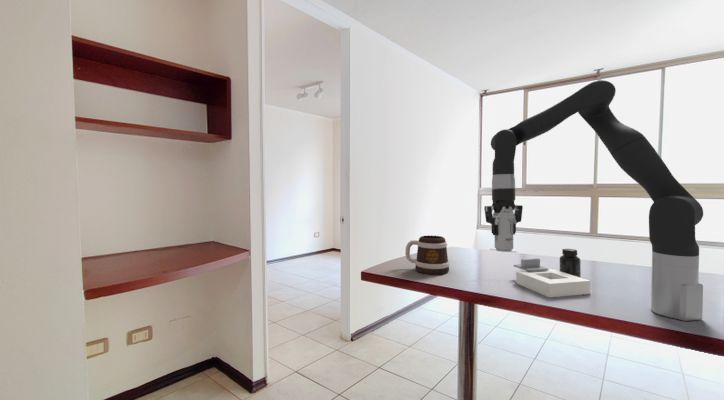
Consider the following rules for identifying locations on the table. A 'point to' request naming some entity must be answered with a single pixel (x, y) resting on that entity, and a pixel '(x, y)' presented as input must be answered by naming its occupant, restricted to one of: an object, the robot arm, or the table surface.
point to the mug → (430, 255)
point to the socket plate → (553, 283)
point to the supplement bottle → (570, 262)
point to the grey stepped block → (531, 265)
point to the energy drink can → (505, 231)
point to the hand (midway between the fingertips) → (503, 234)
